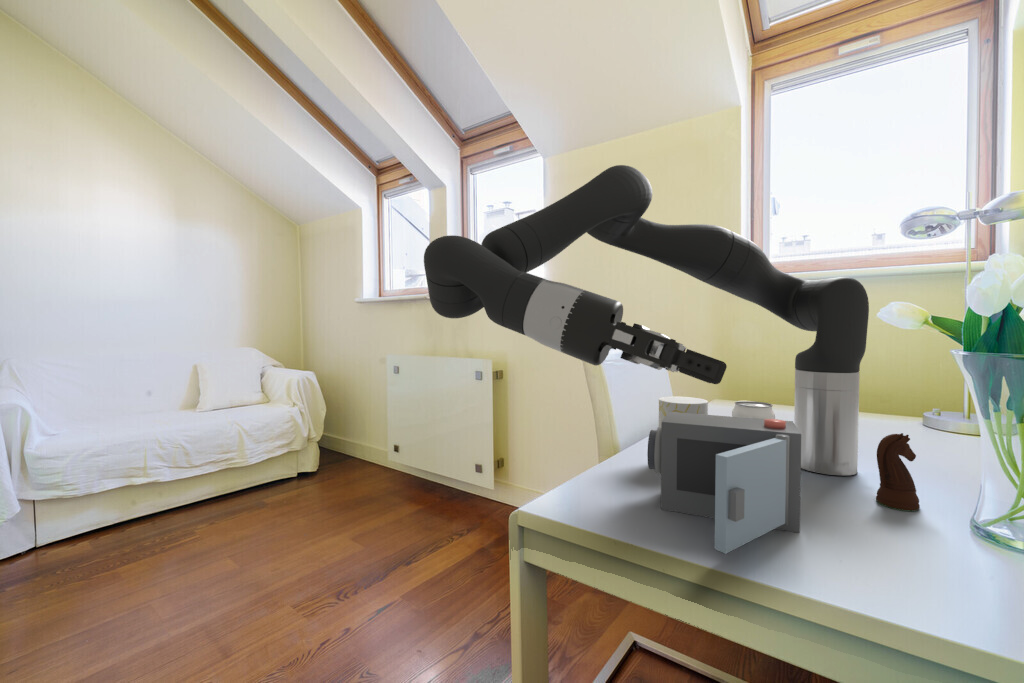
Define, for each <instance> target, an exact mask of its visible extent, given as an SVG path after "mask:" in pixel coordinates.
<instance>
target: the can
mask: <svg viewBox="0 0 1024 683" xmlns="http://www.w3.org/2000/svg"><path fill="white" fill-rule="evenodd" d="M731 417H743V418H756V419H776V413H775V411H774V410H773V404H772V403H768V402H763V401H762V402H761V401H756V400H755V401H754V400H753V401H752V400H738V401H734V407H733V409H732V410H731Z"/></svg>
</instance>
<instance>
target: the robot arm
mask: <svg viewBox="0 0 1024 683" xmlns="http://www.w3.org/2000/svg"><path fill="white" fill-rule="evenodd" d="M652 187H653V186H652V185H651V183H650V180H649V178H647V176H646V175H645V174H644V173H643V172H641V171H640V170H639V169H637V168H636V167H633V166H629V165H625V164H619V165H613V166H611V167H610V166H609V167H608V168H607V169H605V170H603V171H602V172H600V173H598V175H596V176H595V177H594V178H592V179H590V180H589V181H588V182H586V183H585V184H584V185H582V186H580V187H578V188H577V189H576V190H574V191H572V192H571V193H568V195H565V196H564V197H562V198H560V199H558V200H556V201H555V202H553V203H551V204H550V205H548V206H545V207H544V208H542V209H540V210H537V211H536V212H533V213H532V214H529V215H526V216H525V217H522V218H520V219H518V220H515V221H513V222H510V223H508V224H506V225H503V226H501V227H500V228H496V229H495V230H493V231H491V232H489V233H487V234H486V235H485V237H483V240H482V241H481V244H480V243H479V242H478V241H475V240H472V239H470V238H468V237H464V236H460V235H443V236H441V237H437V238H435V239H434V240H432V241H430V243H429V244H428V245H427V247H426V248H425V250H424V254H423V266H424V273H425V279H426V283H427V290H428V297H429V301H430V304H431V306H432V309H433V310H434V312H435V313H436V314H438V315H439V316H441V317H443V318H447V319H462V318H466V317H470V316H472V315H474V314H476V313H477V312H479V311H480V310H482V309H483V308H484V311H485V314H486V315H487V317H488V319H489V320H491V321H492V322H493V323H495V324H497V325H498V326H500V327H503V328H505V329H507V330H510V331H513V332H515V333H517V334H520V335H524V336H526V337H527V338H530V339H532V340H534V341H535V342H537V343H538V344H540V345H543V346H544V347H547V348H549V349H552V350H555V351H557V352H560V353H563V354H565V355H568V356H570V357H573V358H575V359H578V360H579V361H583V362H585V363H588V364H590V365H593V366H600V365H602V364H603V362H604V361H605V360H606V358H608V356H609V354H610V351H611V350H619V351H621V355H620V359H622V360H625V361H627V362H631V363H633V364H635V365H640V364H642V365H643V366H644V365H645V366H646V367H647V366H648V367H650V368H652V369H655V370H658V371H659V370H662V369H664V370H666V371H669V372H672V373H675V372H676V373H678V372H679V373H681V374H684V375H686V376H690V377H692V378H694V379H697V380H700V381H701V382H702V381H703V382H704V383H707V384H712V385H719V384H720V383H721V382H722V380H723V377H724V375H725V373H726V370H727V367H728V366H727V363H726V362H725V361H722V360H719V359H717V358H714V357H711V356H708V355H705V354H703V353H700V352H697V351H694V350H692V349H688V348H687V347H686V346H685V345H684V344H683V343H680V342H677V340H676V339H673V338H670V337H669V336H667V335H665V334H663V333H661V332H657V331H653V330H650V328H648V327H646V326H644V325H641V324H638V323H635V322H634V323H633V325H632V326H631V325H630V324H629V325H628V324H627V323H626V322H623V321H622V320H623V316H624V305H623V303H622V302H620V301H619V300H616V299H612V298H609V297H607V296H604V295H600V294H598V293H595V292H592V291H589V290H586V289H583V288H580V287H577V286H574V285H572V284H568V283H565V282H560V281H553V280H550V279H549V280H548V279H546V278H543V277H541V276H538V275H534V274H531V273H529V272H531V271H533V270H534V269H536V268H538V267H541V266H542V265H544V264H545V263H547V262H548V261H550V260H552V259H553V258H555V257H556V256H558V255H559V254H560V253H562V252H563V251H564V250H566V249H567V247H569V246H570V245H572V244H573V243H574V242H575V241H577V240H578V239H580V238H581V237H582V236H583V235H585V234H587V235H589V236H591V237H592V238H594V239H596V240H597V241H600V242H601V243H604V244H607V245H609V246H612V247H615V248H617V249H621V250H625V251H626V252H627V251H628V252H631V253H633V254H637V255H640V256H643V257H645V258H648V259H650V260H654V261H656V262H659V263H661V264H663V265H666V266H668V267H671V268H673V269H674V270H675V269H676V270H678V271H680V272H683V273H684V274H686V275H689V276H691V277H693V278H695V279H697V280H699V281H700V282H703V283H705V284H707V285H710V286H712V287H714V288H716V289H719V290H722V291H724V292H727V293H729V294H731V295H732V296H735V297H737V298H740V299H743V300H744V301H748V302H750V303H753V304H755V305H757V306H760V307H761V308H764V309H766V310H767V311H768V312H770V313H772V314H774V315H775V316H777V317H779V318H780V319H782V320H783V321H785V322H787V323H788V324H790V325H791V326H793V327H796V328H798V329H800V330H802V331H803V330H804V331H807V332H815V333H816V334H815V339H814V343H813V344H812V345H811V346H810V347H809V348H807V349H805V350H802V351H800V352H797V354H796V355H795V359H794V409H793V410H794V411H793V412H794V414H793V415H794V416H793V417H794V420H793V423H794V424H795V426H796V427H797V428H798V430H799V431H800V433H801V470H805V471H809V472H813V473H818V474H823V475H829V476H830V475H831V476H853V475H856V474H858V467H859V466H858V465H859V464H858V460H859V459H858V458H859V457H858V456H859V454H858V453H859V428H860V427H859V426H860V422H859V420H860V418H859V417H860V416H859V415H860V368H861V367H860V366H861V362H862V360H863V358H864V356H865V352H866V348H867V337H868V329H869V328H868V327H869V314H870V313H869V312H870V305H869V304H870V303H869V302H870V301H869V296H868V293H867V291H866V289H865V287H864V285H863V284H862V283H861V282H860V281H859V280H857V279H856V278H852V277H850V276H849V277H848V276H839V277H828V278H822V279H821V278H820V279H815V280H814V279H813V280H810V279H802V278H800V277H797V276H794V275H792V274H789V273H786V272H784V271H782V270H780V269H779V268H777V267H775V265H774V264H772V262H771V261H770V260H769V258H768V256H767V255H766V253H765V252H764V251H763V249H762V248H761V247H760V246H759V245H757V244H756V243H755V242H754V241H752V240H750V239H748V238H747V237H744V236H743V235H741V234H738V233H737V232H734V231H732V230H730V229H728V228H725V227H724V226H720V225H715V224H705V223H703V224H698V223H697V224H663V223H658V222H654V221H651V220H648V219H647V218H646V219H645V218H643V215H645V213H646V211H647V210H648V208H649V206H650V204H651V202H652V199H653V188H652Z"/></svg>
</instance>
